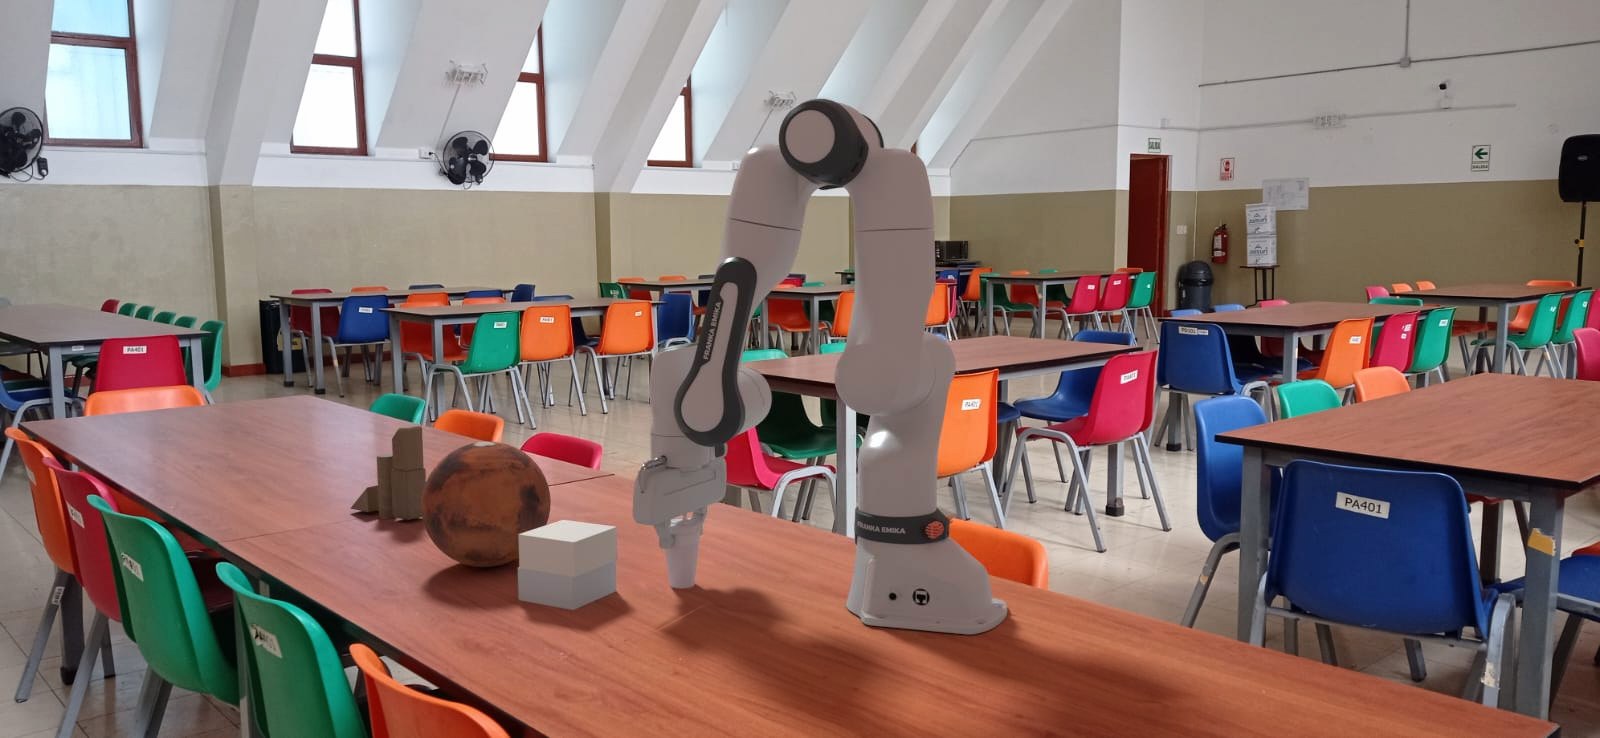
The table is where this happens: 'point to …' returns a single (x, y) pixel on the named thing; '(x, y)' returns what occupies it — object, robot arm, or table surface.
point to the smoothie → (683, 551)
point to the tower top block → (567, 547)
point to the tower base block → (566, 587)
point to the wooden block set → (398, 478)
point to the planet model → (484, 503)
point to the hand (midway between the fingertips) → (681, 541)
